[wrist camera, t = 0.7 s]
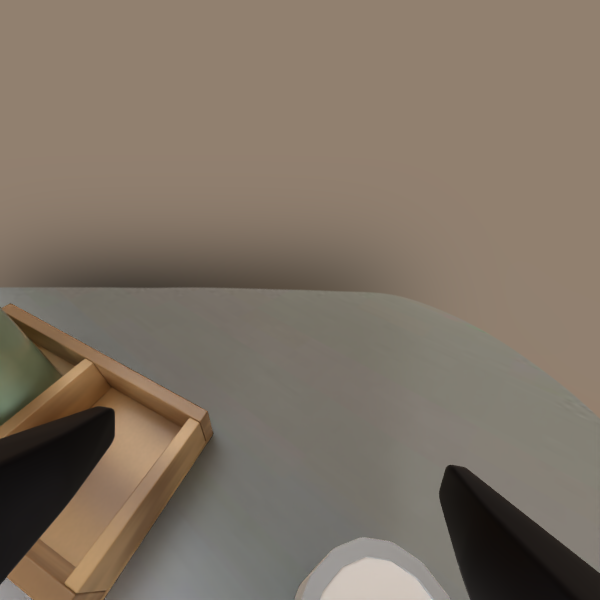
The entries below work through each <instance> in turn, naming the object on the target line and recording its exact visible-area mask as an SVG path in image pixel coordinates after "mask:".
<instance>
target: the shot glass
mask: <svg viewBox="0 0 600 600" xmlns="http://www.w3.org/2000/svg"><path fill="white" fill-rule="evenodd" d="M294 600H451V598H450V597H449V596H448V595H447V593H446V592H445V591H444V589H443V588H442V587H441V586H440V584H439V583H438V582H437V580H436V579H435V578H434V577H433V575H432V574H431V573H430V571H429V570H428V569H427V568H426V566H425V565H424V564H423V562H421V561H420V560H418V559H417V558H415V557H414V556H413V555H411V554H410V553H408V552H407V551H405V550H404V549H402V548H401V547H399V546H398V545H396V544H395V543H393V542H391V541H385V540H378V539H372V538H366V537H360V538H358V539H356V540H353V541H351V542H348V543H346V544H343V545H341V546H338V547H336V548H334V549H333V550H332V551H331V552H330V553H329V554H328V555H327V556H326V557H325V558H324V559H323V560H322V561H321V562H320V563H319V564H318V565H317V566H316V567H315V568H314V569H313V570H312V571H311V573H310V574H309V575H308V576H307V577H306V578H305V580H304V581H303V582H302V583H301V584H300V585H299V588H298V590H297V593H296V596H295V598H294Z"/></svg>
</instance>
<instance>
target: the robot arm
mask: <svg viewBox="0 0 600 600" xmlns="http://www.w3.org/2000/svg"><path fill="white" fill-rule="evenodd" d="M114 437H115V411H114V409H112V408H109V407H103V406H96V407H93V408H90V409H87V410H84V411H81V412H78V413H75V414H72V415H69V416H66V417H63V418H60V419H57V420H54V421H51V422H48V423H45V424H42V425H39V426H36V427H33V428H30V429H27V430H24V431H21V432H18V433H15V434H12V435H10V436H7V437H4V438H1V439H0V584H1V583H2V582H3V581H4V580H5V579H6V577H7V576H8V575H9V574H10V573H11V571H12V570H13V569H14V568H15V567H16V565H17V564H18V563H19V562H20V561H21V560H22V558H23V557H24V556H25V555H26V554H27V552H28V551H29V550H30V549H31V548H32V546H33V545H34V544H35V543H36V542H37V541H38V539H39V538H40V537H41V536H42V535H43V533H44V532H45V531H46V530H47V529H48V528H49V526H50V525H51V524H52V523H53V522H54V520H55V519H56V518H57V517H58V516H59V514H60V513H61V512H62V511H63V510H64V508H65V507H66V506H67V505H68V503H69V502H70V501H71V499H72V498H73V497H74V495H75V494H76V493H77V491H78V490H79V489H80V487H81V486H82V485H83V483H84V482H85V480H86V479H87V478H88V476H89V475H90V473H91V472H92V471H93V469H94V468H95V466H96V465H97V464H98V462H99V461H100V459H101V458H102V457H103V455H104V454H105V452H106V451H107V450H108V448H109V447H110V446H111V444H112V442H113V440H114ZM439 498H440V503H441V506H442V510H443V513H444V517H445V520H446V524H447V527H448V531H449V534H450V538H451V541H452V545H453V549H454V552H455V556H456V559H457V562H458V566H459V569H460V572H461V575H462V578H463V581H464V584H465V587H466V589H467V592H468V595H469V597H470V600H600V573H599V572H597V571H596V570H595V569H594V568H592V567H591V566H590V565H589V564H587V563H586V562H585V561H583V560H582V559H581V558H580V557H578V556H577V555H576V554H575V553H573V552H572V551H571V550H569V549H568V548H567V547H566V546H564V545H563V544H562V543H561V542H559V541H558V540H557V539H556V538H554V537H553V536H552V535H550V534H549V533H548V532H547V531H545V530H544V529H543V528H542V527H540V526H539V525H538V524H537V523H535V522H534V521H533V520H531V519H530V518H529V517H528V516H526V515H525V514H524V513H523V512H521V511H520V510H519V509H517V508H516V507H515V506H514V505H512V504H511V503H510V502H509V501H507V500H506V499H505V498H504V497H502V496H501V495H500V494H498V493H497V492H496V491H495V490H493V489H492V488H491V487H490V486H488V485H487V484H486V483H485V482H483V481H482V480H481V479H479V478H478V477H477V476H476V475H474V474H473V473H472V472H471V471H469V470H468V469H467V468H465V467H461V466H455V465H448V466H447V467H446V470H445V473H444V476H443V480H442V483H441V487H440V491H439Z"/></svg>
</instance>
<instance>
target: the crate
mask: <svg viewBox="0 0 600 600" xmlns="http://www.w3.org/2000/svg"><path fill="white" fill-rule="evenodd" d="M2 309H3V310H4V311H5V313H6V314H7V315H8V316H9V317H10V318H11V319H12V320H13V321H14V322H15V323H16V324H17V326H18V327H19V328H20V329H21V330H22V331H23V332H24V333H25V334H26V335H27V336H28V337H29V338H30V340H31V341H32V342H33V343H34V344H35V345H36V346H37V347H38V348H39V349H40V350H41V351H42V352H43V354H44V355H45V356H46V357H47V358H48V359H49V360H50V361H51V362H52V363H53V364H54V365H55V367H56V368H57V369H58V370H59V371H60V372H61V373H62V374H63V376H62V377H61V378H60V379H59V380H57V381H56V382H55V383H54V384H52V385H51V386H50V387H49V388H48V389H46V390H45V391H44V392H43V393H41V394H40V395H39V396H38V397H36V398H35V399H34V400H33V401H31V402H30V403H29V404H28V405H26V406H25V407H24V408H23V409H21V410H20V411H19V412H18V413H16V414H15V415H14V416H13V417H11V418H10V419H9V420H8V421H6V422H5V423H4V424H3V425H1V426H0V439H1V438H4V437H7V436H10V435H12V434H15V433H18V432H21V431H24V430H27V429H30V428H33V427H36V426H39V425H42V424H45V423H48V422H51V421H54V420H57V419H60V418H63V417H66V416H69V415H72V414H75V413H78V412H81V411H84V410H87V409H90V408H93V407H96V406H103V407H109V408H112V409H114V411H115V437H114V440H113V442H112V444H111V446H110V447H109V448H108V450H107V451H106V452H105V454H104V455H103V457H102V458H101V459H100V461H99V462H98V464H97V465H96V466H95V468H94V469H93V471H92V472H91V473H90V475H89V476H88V478H87V479H86V480H85V482H84V483H83V485H82V486H81V487H80V489H79V490H78V491H77V493H76V494H75V495H74V497H73V498H72V499H71V501H70V502H69V503H68V505H67V506H66V507H65V508H64V510H63V511H62V512H61V513H60V514H59V516H58V517H57V518H56V519H55V520H54V522H53V523H52V524H51V525H50V526H49V528H48V529H47V530H46V531H45V532H44V533H43V535H42V536H41V537H40V538H39V539H38V541H37V542H36V543H35V544H34V545H33V546H32V548H31V549H30V550H29V551H28V552H27V554H26V555H25V556H24V557H23V558H22V560H21V561H20V562H19V563H18V564H17V565H16V567H15V568H14V569H13V570H12V571H11V573H10V574H9V575H8V576H7V578H8V579H9V580H10V581H12V582H13V583H14V584H15V585H16V586H18V587H19V588H20V589H21V590H22V591H23V592H25V593H26V594H27V595H28V596H29V597H30V598H32V599H33V600H104V598H105V597H106V595H107V594H108V592H109V591H110V589H111V588H112V586H113V585H114V583H115V582H116V580H117V579H118V577H119V575H120V574H121V572H122V571H123V569H124V568H125V566H126V565H127V563H128V562H129V560H130V559H131V557H132V556H133V554H134V553H135V551H136V550H137V548H138V547H139V545H140V544H141V542H142V541H143V539H144V538H145V536H146V535H147V533H148V532H149V530H150V529H151V527H152V526H153V524H154V523H155V521H156V520H157V518H158V517H159V515H160V514H161V512H162V511H163V509H164V508H165V506H166V505H167V503H168V501H169V500H170V498H171V497H172V495H173V494H174V492H175V491H176V489H177V488H178V486H179V485H180V483H181V482H182V480H183V479H184V477H185V476H186V474H187V473H188V471H189V470H190V468H191V467H192V465H193V464H194V462H195V461H196V459H197V458H198V456H199V455H200V453H201V452H202V450H203V449H204V447H205V446H206V444H207V443H208V441H209V440H210V438H211V437H212V435H213V431H212V427H211V423H210V419H209V415H208V411H206V410H204V409H203V408H201V407H199V406H197V405H195V404H193V403H192V402H190V401H188V400H186V399H184V398H182V397H181V396H179V395H177V394H175V393H173V392H172V391H170V390H168V389H166V388H164V387H162V386H161V385H159V384H157V383H155V382H153V381H152V380H150V379H148V378H146V377H144V376H142V375H141V374H139V373H137V372H135V371H133V370H131V369H130V368H128V367H126V366H124V365H122V364H121V363H119V362H117V361H115V360H113V359H111V358H110V357H108V356H106V355H104V354H102V353H100V352H99V351H97V350H95V349H93V348H91V347H90V346H88V345H86V344H84V343H82V342H80V341H79V340H77V339H75V338H73V337H71V336H69V335H68V334H66V333H64V332H62V331H60V330H59V329H57V328H55V327H53V326H51V325H49V324H48V323H46V322H44V321H42V320H40V319H39V318H37V317H35V316H33V315H31V314H29V313H28V312H26V311H24V310H22V309H20V308H18V307H17V306H15V305H13V304H8V305H7V306H5V307H3V308H2Z"/></svg>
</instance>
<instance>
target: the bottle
mask: <svg viewBox="0 0 600 600" xmlns="http://www.w3.org/2000/svg"><path fill="white" fill-rule="evenodd" d="M62 376H63V374H62V373H61V372H60V371H59V370H58V369H57V368H56V367H55V365H54V364H53V363H52V362H51V361H50V360H49V359H48V358H47V357H46V356H45V355H44V354H43V352H42V351H41V350H40V349H39V348H38V347H37V346H36V345H35V344H34V343H33V342H32V341H31V340H30V338H29V337H28V336H27V335H26V334H25V333H24V332H23V331H22V330H21V329H20V328H19V327H18V326H17V324H16V323H15V322H14V321H13V320H12V319H11V318H10V317H9V316H8V315H7V314H6V313H5V311H4V310H3V309H2V308H1V307H0V426H1V425H3V424H4V423H5V422H6V421H8V420H9V419H10V418H11V417H13V416H14V415H15V414H16V413H18V412H19V411H20V410H21V409H23V408H24V407H25V406H26V405H28V404H29V403H30V402H31V401H33V400H34V399H35V398H36V397H38V396H39V395H40V394H41V393H43V392H44V391H45V390H46V389H48V388H49V387H50V386H51V385H52V384H54V383H55V382H56V381H57V380H59V379H60V378H61V377H62Z"/></svg>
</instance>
